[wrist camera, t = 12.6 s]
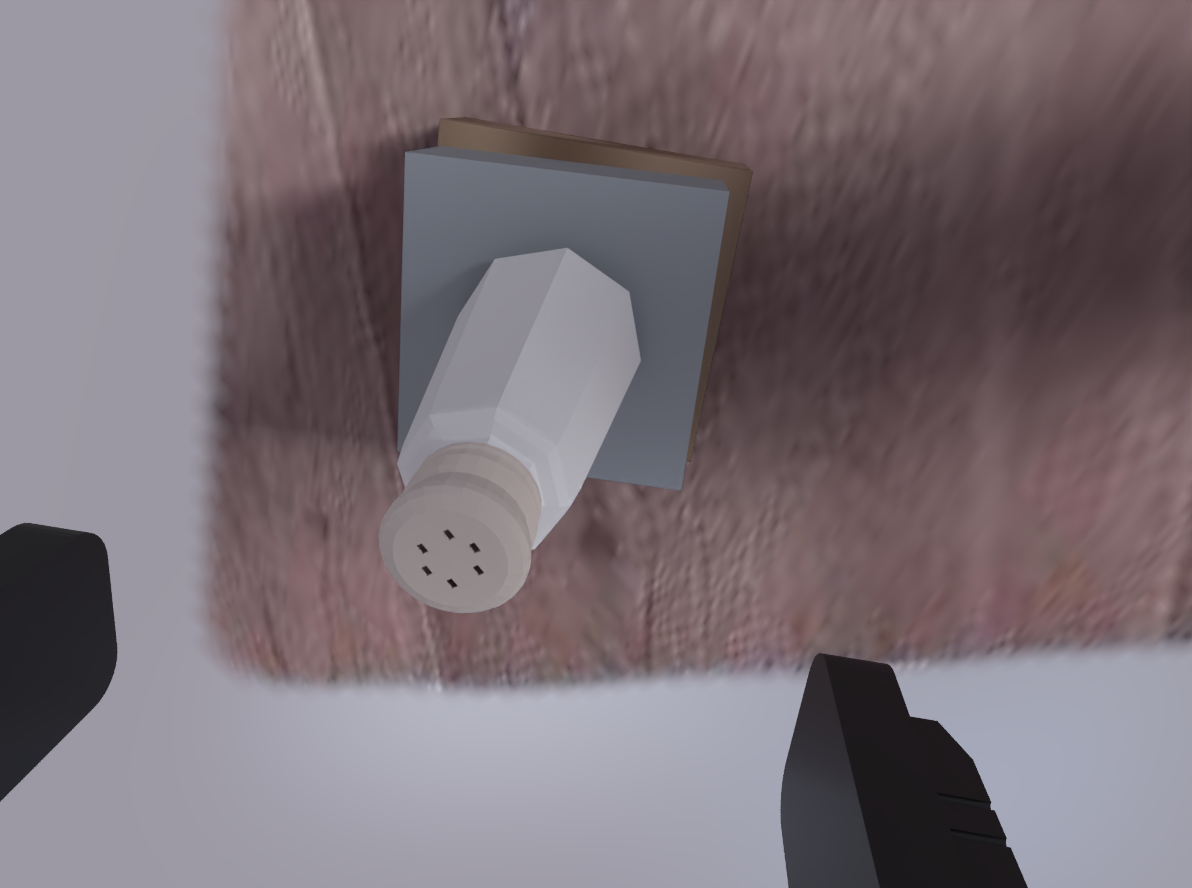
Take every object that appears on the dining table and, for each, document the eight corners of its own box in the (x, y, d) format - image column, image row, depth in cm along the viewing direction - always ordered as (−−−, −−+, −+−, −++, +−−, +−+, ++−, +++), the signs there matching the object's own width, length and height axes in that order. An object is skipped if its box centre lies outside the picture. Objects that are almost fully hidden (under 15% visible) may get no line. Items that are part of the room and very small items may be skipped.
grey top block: (723, 180, 27) (729, 191, 23) (681, 443, 31) (681, 490, 27) (441, 145, 28) (405, 151, 24) (431, 409, 31) (397, 450, 27)
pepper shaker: (528, 448, 27) (426, 709, 17) (422, 304, 25) (241, 508, 15) (679, 367, 25) (658, 610, 15) (576, 206, 23) (480, 368, 14)
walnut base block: (744, 164, 31) (752, 172, 27) (689, 423, 34) (690, 461, 31) (468, 117, 31) (439, 118, 27) (444, 379, 35) (415, 412, 31)
